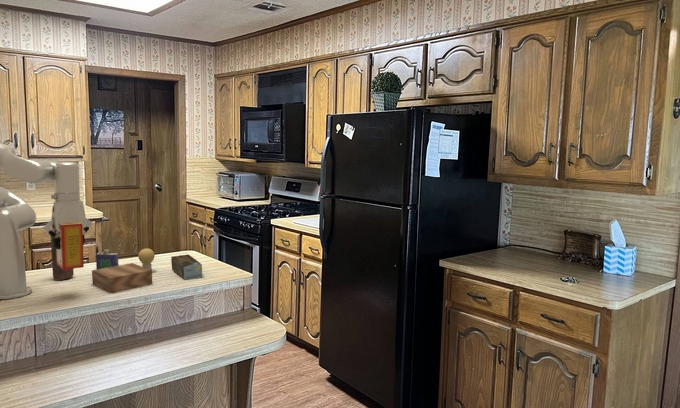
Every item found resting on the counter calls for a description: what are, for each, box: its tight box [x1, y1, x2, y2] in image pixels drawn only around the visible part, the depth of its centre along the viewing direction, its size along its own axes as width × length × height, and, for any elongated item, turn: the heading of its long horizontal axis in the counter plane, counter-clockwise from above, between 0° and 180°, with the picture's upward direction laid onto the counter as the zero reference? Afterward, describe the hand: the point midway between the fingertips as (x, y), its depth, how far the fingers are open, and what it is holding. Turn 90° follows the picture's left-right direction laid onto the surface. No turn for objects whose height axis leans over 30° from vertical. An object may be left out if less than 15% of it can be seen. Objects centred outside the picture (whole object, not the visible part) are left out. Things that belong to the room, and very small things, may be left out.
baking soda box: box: [56, 223, 84, 270], centre depth 177 cm, size 10×6×16 cm
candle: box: [50, 228, 75, 281], centre depth 199 cm, size 8×7×20 cm
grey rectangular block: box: [170, 254, 203, 281], centre depth 209 cm, size 8×19×7 cm, turn 33°
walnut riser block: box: [91, 262, 153, 294], centre depth 193 cm, size 16×16×6 cm
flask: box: [95, 248, 120, 270], centre depth 206 cm, size 9×3×11 cm, turn 88°
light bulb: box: [138, 248, 155, 271], centre depth 211 cm, size 6×6×10 cm
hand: (69, 246), depth 177 cm, fingers closed on baking soda box, 7 cm apart
